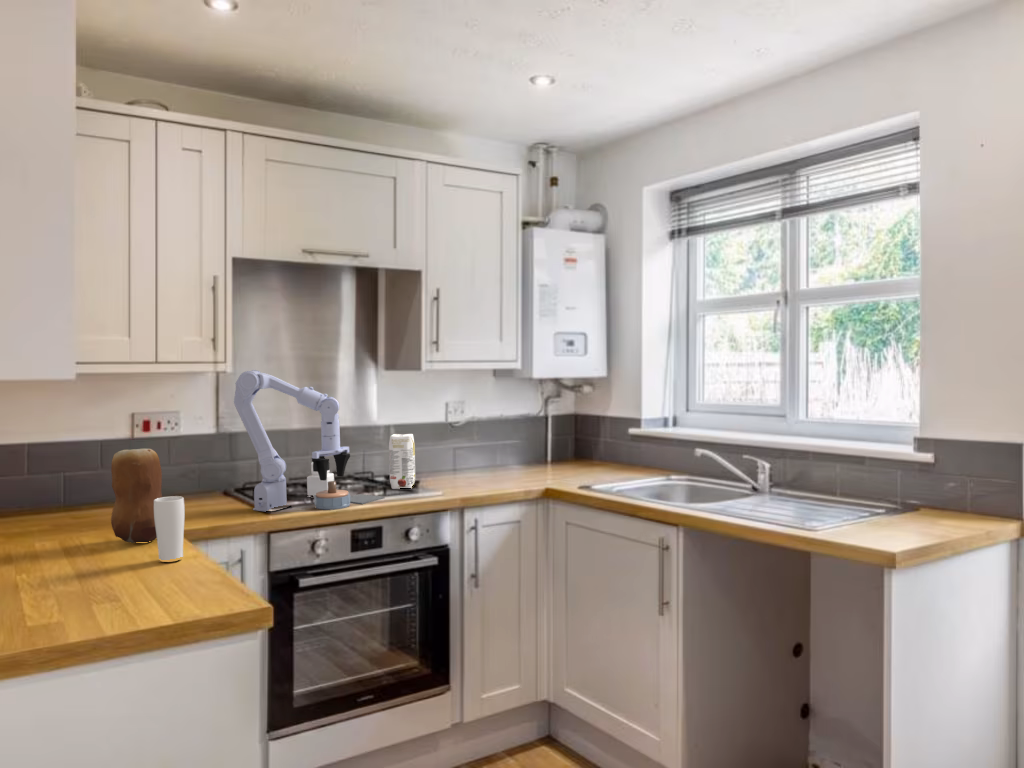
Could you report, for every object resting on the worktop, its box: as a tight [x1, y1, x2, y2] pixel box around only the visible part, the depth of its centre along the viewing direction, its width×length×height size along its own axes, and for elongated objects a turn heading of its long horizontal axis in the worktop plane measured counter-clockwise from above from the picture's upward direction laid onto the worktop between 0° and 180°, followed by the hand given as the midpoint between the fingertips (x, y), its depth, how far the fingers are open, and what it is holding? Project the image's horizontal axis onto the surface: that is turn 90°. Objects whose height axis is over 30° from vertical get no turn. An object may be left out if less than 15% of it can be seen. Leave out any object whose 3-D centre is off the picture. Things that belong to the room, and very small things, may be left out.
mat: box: [350, 493, 386, 505], centre depth 257 cm, size 11×11×1 cm
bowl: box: [313, 492, 351, 511], centre depth 247 cm, size 11×11×4 cm
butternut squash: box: [110, 448, 163, 544], centre depth 204 cm, size 14×13×25 cm
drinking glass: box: [154, 495, 186, 560], centre depth 186 cm, size 7×7×15 cm
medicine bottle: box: [306, 461, 335, 496], centre depth 265 cm, size 7×7×12 cm
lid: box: [316, 480, 349, 498], centre depth 247 cm, size 10×10×4 cm
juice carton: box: [388, 433, 416, 490], centre depth 277 cm, size 8×9×19 cm
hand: (331, 478), depth 247 cm, fingers open, 7 cm apart
